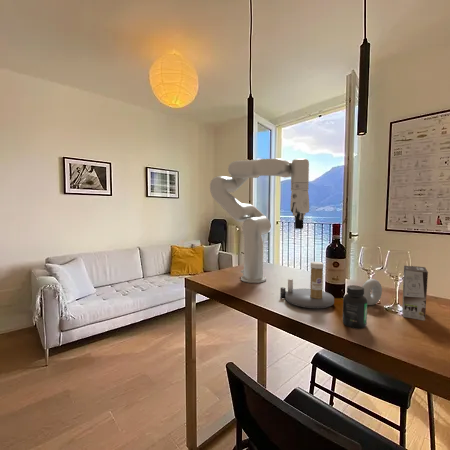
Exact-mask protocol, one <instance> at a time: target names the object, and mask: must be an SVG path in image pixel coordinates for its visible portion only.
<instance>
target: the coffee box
mask: <svg viewBox="0 0 450 450" xmlns="http://www.w3.org/2000/svg"><path fill="white" fill-rule="evenodd" d="M428 274H429V272H428V270H427V269H426V267H425V266H415V265H411V266H410V265H403V279H402V280H403V282H402V283H403V285H402V305H401V306H402V317H403V318H409V319H414V320H419V321H426V311H427V310H426V309H427V294H428V293H427V292H428V290H427V289H428V276H429V275H428Z"/></svg>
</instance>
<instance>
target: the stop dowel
mask: <svg viewBox="0 0 450 450" xmlns="http://www.w3.org/2000/svg"><path fill="white" fill-rule="evenodd" d="M279 290H280V293H279V294H280V296H279V298H280V299H282V300H286V299H285V291H286V290H287V289H286V288H285V287H280V289H279Z"/></svg>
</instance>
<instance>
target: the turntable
mask: <svg viewBox="0 0 450 450" xmlns="http://www.w3.org/2000/svg"><path fill="white" fill-rule="evenodd" d="M310 295H311V288H294V279H292V278H288V279H287V289H286V291H285V299H284V300H286V301H287V302H288V303H289V304H291V305H294V306H297V307H302V308H308V309H324V308H329V307H331V306H333V305H334V304H335V297H334V296H333V295H332V294H331V293H329V292H327V291H324V290H322V296H323V297H322V298H321V299H315V298H312V297H310Z"/></svg>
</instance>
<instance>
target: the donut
mask: <svg viewBox="0 0 450 450" xmlns="http://www.w3.org/2000/svg"><path fill="white" fill-rule="evenodd" d="M361 287H363V288H364V295H363V296H365V297H366V298H367V306H374V305H375V304H377V303H378V302H379V301H380V299H381V297H382V295H383V288H382V284H381V282H380V281H379V280H377V279H375V278H368V279H367V280H366V281H365V282H364V283H363V284H362V286H361Z"/></svg>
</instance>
